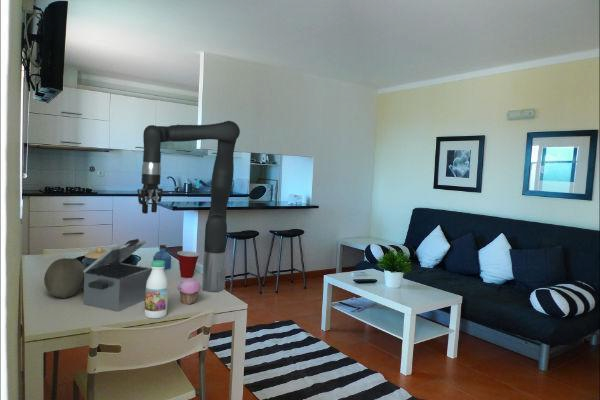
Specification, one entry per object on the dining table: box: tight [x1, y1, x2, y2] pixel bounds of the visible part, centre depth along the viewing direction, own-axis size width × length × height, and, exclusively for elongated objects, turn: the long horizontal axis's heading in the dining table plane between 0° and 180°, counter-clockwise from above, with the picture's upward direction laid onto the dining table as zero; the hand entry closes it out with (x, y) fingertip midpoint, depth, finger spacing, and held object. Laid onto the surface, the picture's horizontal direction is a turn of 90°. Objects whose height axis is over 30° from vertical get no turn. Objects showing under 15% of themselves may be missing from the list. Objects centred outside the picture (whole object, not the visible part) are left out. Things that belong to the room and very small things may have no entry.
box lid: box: [83, 238, 147, 273], centre depth 161 cm, size 19×19×3 cm
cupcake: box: [177, 277, 202, 305], centre depth 165 cm, size 9×9×10 cm
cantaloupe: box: [43, 257, 85, 299], centre depth 162 cm, size 14×14×15 cm
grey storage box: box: [82, 262, 152, 312], centre depth 160 cm, size 16×22×12 cm
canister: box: [81, 246, 108, 291], centre depth 175 cm, size 13×13×18 cm
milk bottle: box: [144, 260, 169, 320], centre depth 149 cm, size 8×8×20 cm
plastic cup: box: [177, 250, 201, 279], centre depth 201 cm, size 11×11×12 cm
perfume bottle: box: [152, 244, 172, 271], centre depth 213 cm, size 6×6×12 cm
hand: (149, 212), depth 176 cm, fingers open, 5 cm apart
